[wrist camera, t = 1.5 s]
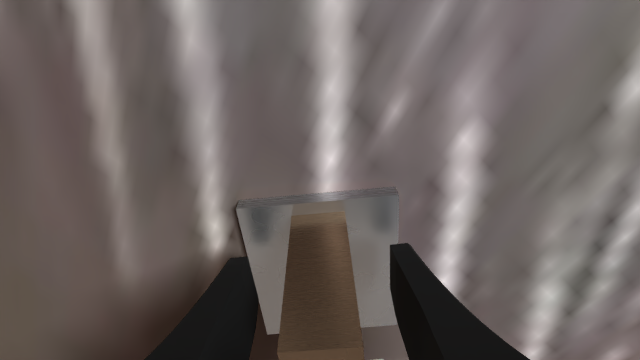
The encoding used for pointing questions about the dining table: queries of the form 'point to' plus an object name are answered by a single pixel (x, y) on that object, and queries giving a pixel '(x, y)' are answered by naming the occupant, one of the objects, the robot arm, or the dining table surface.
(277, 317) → the trowel
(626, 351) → the dining table surface
